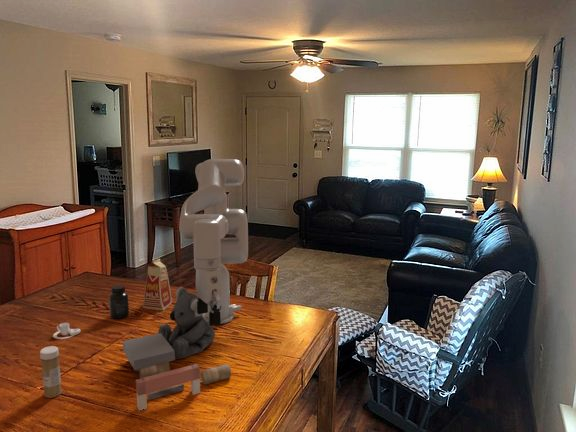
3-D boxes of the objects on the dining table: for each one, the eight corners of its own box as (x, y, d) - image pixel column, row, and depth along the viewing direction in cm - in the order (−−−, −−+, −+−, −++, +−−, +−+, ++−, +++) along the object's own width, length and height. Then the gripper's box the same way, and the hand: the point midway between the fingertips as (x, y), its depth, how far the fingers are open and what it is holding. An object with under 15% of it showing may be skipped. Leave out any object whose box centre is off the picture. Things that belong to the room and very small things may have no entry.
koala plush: (154, 342, 166) (152, 288, 162) (202, 329, 176) (201, 278, 172) (175, 363, 152) (173, 305, 148) (225, 348, 163) (224, 293, 159)
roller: (224, 369, 147) (226, 361, 145) (229, 380, 144) (232, 371, 142) (199, 376, 143) (201, 367, 141) (204, 387, 140) (206, 379, 138)
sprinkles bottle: (41, 394, 135) (36, 349, 132) (57, 387, 138) (53, 343, 135) (48, 400, 132) (44, 355, 129) (65, 393, 135) (61, 349, 132)
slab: (161, 341, 157) (160, 332, 157) (175, 360, 146) (174, 350, 145) (123, 350, 151) (122, 341, 151) (134, 370, 140) (133, 360, 139)
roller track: (157, 352, 159) (156, 340, 158) (183, 389, 138) (183, 376, 137) (126, 360, 154) (125, 348, 153) (148, 400, 132) (147, 386, 132)
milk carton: (163, 310, 193) (161, 262, 189) (142, 308, 195) (139, 260, 191) (173, 302, 202) (171, 255, 198) (152, 300, 203) (150, 254, 199)
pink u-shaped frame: (197, 389, 138) (196, 363, 136) (200, 392, 136) (199, 366, 135) (137, 407, 129) (135, 379, 128) (139, 411, 128) (137, 383, 126)
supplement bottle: (110, 314, 189) (108, 284, 186) (129, 312, 191) (127, 283, 188) (110, 321, 182) (108, 290, 180) (129, 318, 185) (127, 289, 182)
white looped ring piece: (84, 333, 173) (83, 322, 172) (65, 342, 166) (64, 331, 165) (66, 328, 177) (65, 318, 176) (47, 337, 170) (46, 326, 169)
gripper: (231, 268, 133) (232, 326, 136) (208, 253, 148) (209, 307, 151) (206, 272, 129) (207, 332, 132) (184, 256, 144) (186, 311, 147)
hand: (208, 318), depth 141 cm, fingers open, 9 cm apart
